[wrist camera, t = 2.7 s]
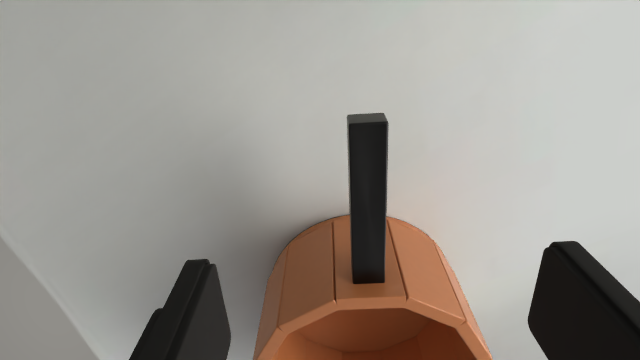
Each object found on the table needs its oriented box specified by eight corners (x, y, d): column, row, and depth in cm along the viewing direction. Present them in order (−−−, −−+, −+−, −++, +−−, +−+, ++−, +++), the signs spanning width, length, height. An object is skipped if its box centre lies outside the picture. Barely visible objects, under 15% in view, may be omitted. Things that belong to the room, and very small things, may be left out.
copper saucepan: (240, 90, 20) (202, 139, 14) (475, 77, 20) (544, 121, 13) (280, 353, 29) (268, 454, 23) (442, 348, 29) (474, 449, 22)
